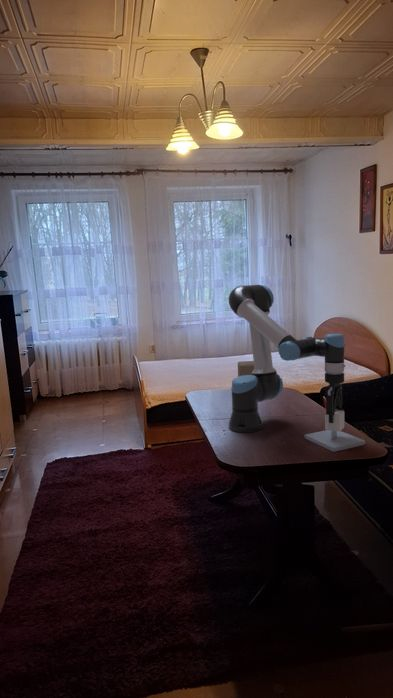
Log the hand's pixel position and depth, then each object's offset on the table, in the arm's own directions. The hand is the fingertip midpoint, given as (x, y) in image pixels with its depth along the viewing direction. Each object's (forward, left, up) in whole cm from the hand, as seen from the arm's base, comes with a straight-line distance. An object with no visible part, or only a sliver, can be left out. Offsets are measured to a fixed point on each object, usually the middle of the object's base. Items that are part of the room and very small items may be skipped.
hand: (334, 427), depth 188 cm
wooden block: (+8, +82, -6) cm, 83 cm away
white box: (0, 0, 0) cm, 0 cm away
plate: (0, 0, -6) cm, 6 cm away
